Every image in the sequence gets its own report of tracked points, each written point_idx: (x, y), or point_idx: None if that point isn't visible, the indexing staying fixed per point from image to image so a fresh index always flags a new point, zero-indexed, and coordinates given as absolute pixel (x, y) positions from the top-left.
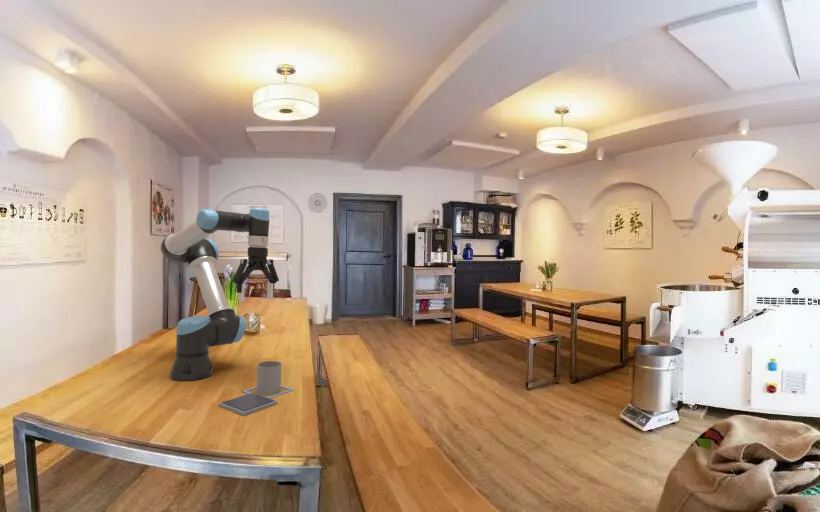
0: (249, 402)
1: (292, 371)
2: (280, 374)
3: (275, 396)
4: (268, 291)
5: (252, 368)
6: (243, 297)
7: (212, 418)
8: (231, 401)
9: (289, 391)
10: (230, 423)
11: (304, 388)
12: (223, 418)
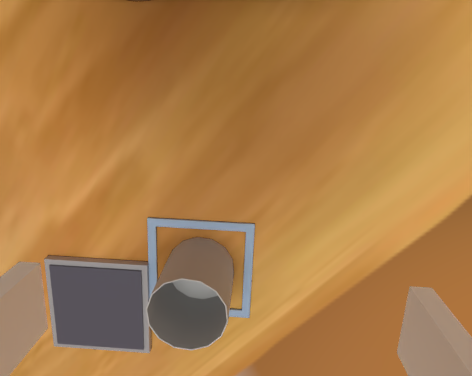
0: (93, 316)
1: (397, 184)
2: (211, 325)
3: None
4: (445, 373)
5: (344, 29)
6: (17, 357)
7: None
8: (67, 279)
9: (230, 316)
10: None
11: (278, 326)
12: None
